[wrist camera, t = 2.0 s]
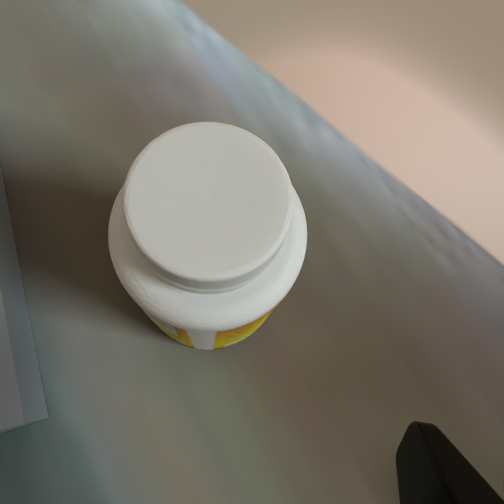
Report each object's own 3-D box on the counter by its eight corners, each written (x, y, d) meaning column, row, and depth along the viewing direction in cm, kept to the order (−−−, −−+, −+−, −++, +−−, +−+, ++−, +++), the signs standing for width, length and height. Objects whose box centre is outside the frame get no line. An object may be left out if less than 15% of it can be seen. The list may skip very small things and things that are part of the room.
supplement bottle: (281, 238, 21) (343, 114, 12) (262, 361, 20) (314, 339, 10) (160, 215, 21) (118, 69, 11) (131, 338, 20) (53, 292, 10)
